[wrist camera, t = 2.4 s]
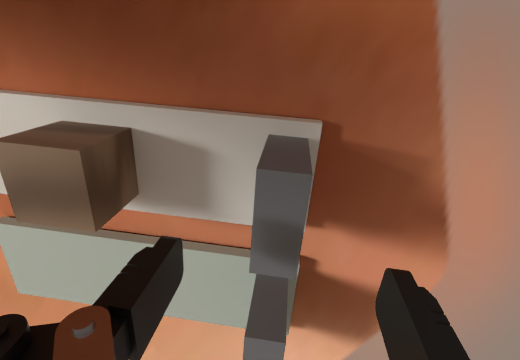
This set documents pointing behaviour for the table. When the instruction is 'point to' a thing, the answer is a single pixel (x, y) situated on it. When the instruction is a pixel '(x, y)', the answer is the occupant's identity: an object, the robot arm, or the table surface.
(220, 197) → the cream strip
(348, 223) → the table surface
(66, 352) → the robot arm
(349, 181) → the table surface
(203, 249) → the sage strip
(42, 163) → the walnut block
